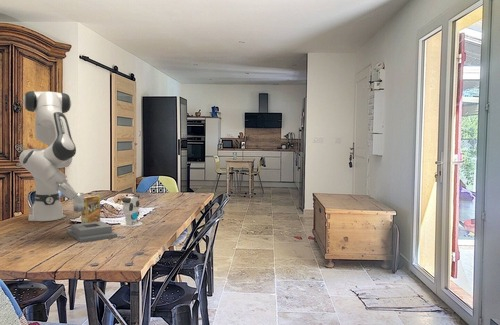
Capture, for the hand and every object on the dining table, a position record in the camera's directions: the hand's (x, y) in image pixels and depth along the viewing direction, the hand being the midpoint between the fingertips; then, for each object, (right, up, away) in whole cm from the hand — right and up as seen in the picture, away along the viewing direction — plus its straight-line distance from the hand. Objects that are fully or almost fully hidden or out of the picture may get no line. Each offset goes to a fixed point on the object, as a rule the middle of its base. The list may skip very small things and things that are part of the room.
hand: (80, 201), depth 181 cm
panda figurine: (+15, -15, +27) cm, 35 cm away
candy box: (-4, -15, +22) cm, 27 cm away
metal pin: (-1, -4, 0) cm, 4 cm away
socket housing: (+4, -16, +3) cm, 17 cm away
